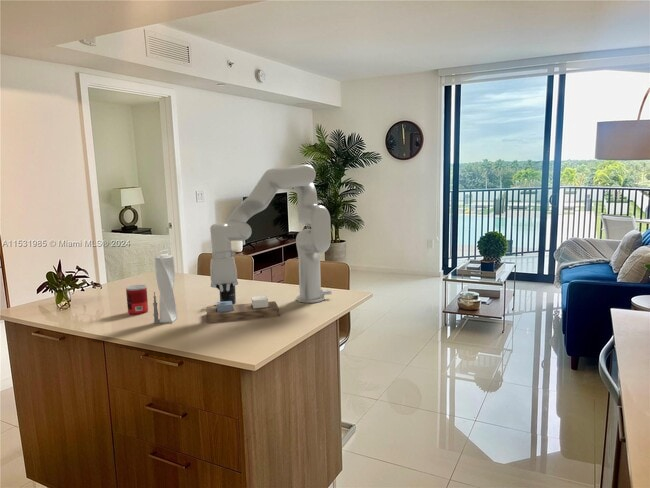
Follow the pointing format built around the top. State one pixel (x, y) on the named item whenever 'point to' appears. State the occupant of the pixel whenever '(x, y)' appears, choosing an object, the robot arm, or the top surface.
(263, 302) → the white square block
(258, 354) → the top surface
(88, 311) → the top surface
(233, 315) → the wooden board
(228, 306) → the light blue square block
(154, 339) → the top surface
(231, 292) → the supplement bottle
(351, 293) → the top surface
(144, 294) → the canned food
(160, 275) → the skyscraper
